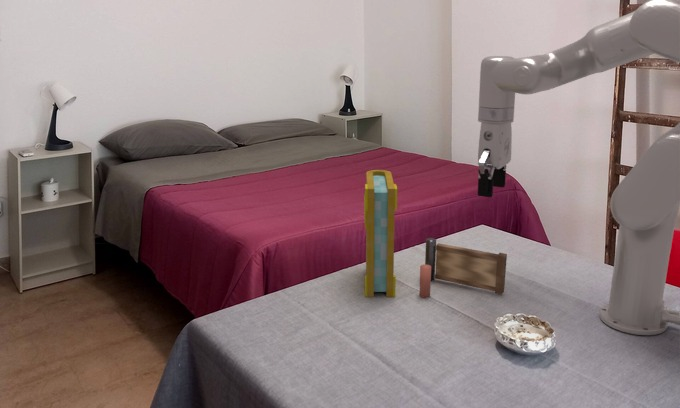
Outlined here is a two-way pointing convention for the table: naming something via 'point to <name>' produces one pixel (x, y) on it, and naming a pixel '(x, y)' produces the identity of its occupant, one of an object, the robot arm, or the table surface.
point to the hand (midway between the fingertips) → (491, 191)
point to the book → (380, 232)
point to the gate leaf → (471, 267)
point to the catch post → (425, 281)
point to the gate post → (431, 255)
